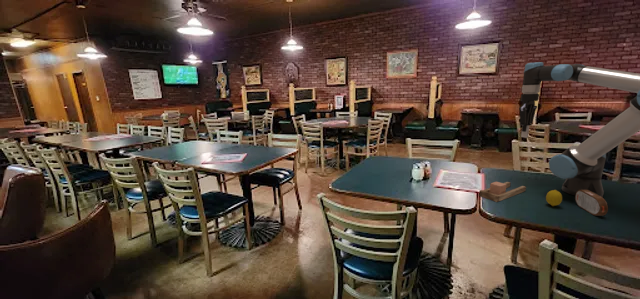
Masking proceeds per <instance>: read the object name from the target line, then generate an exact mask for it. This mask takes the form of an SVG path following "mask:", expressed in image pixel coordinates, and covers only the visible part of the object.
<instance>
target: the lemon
mask: <svg viewBox="0 0 640 299" xmlns="http://www.w3.org/2000/svg"><path fill="white" fill-rule="evenodd" d="M545 200H546V202H547V203H548V204H549V205H551V207H556V206H560V204H561V203H562V202H563V195H562V193H561V192H560V191H559V190H557V189H552V190H550V191H548V192H547V193H546V196H545Z"/></svg>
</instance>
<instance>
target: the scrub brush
mask: <svg viewBox="0 0 640 299" xmlns="http://www.w3.org/2000/svg"><path fill="white" fill-rule="evenodd" d="M574 199H575V200H574V201H575V203H576V204H577V206H578V207H579V208H581V209H582V210H584V211H586V212H587V213H589V214H591V215H593V216H596V217H597V216H600V217H604V216H606V214H608V210H609V207H608V202H607V201H606V199H605V198H603V197H601V196H599V195H597V194H595V193H593V192H591V191H589V190H578V191H577V192H576V195H574Z"/></svg>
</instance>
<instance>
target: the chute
mask: <svg viewBox="0 0 640 299" xmlns="http://www.w3.org/2000/svg"><path fill="white" fill-rule="evenodd" d="M502 183H503V184H507V185H506V189H508V188H510V187H511V182H509V181H505V182H502ZM526 190H527V187H526V186H524V185H521V186H519V187H516V188H513V189H510V190H507V191H506V192H505V193H502V194H499V195H496V194H493V193H490V187H489V188H488V187H487V188H485V189H480V190H479V192H478V196H479V197H481V198H484V199H487V200H490V201H493V202H495V203H498V202H501V201H505V200H506V199H509V198H511V197H515V196H516V195H519V194H522V193H524V192H526Z"/></svg>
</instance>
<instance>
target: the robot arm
mask: <svg viewBox="0 0 640 299" xmlns="http://www.w3.org/2000/svg"><path fill="white" fill-rule="evenodd" d="M523 70H524V71H523V79H522V87H521V95H520V101H521V102H522V106H521V107H520V106H519V108H518V109H519V125H520V126H522V127H521V133H520V138H524V139H527V138H529V131H530V126H532V125H533V121H534V119H535V115H536V111H537V108H538V105H536V102H537V101H539V100H540V99H539V98H540V94H539V93H540V91H541V84H542V82H562V81H563V82H564V81H573V82H578V83H582V84H583V83H584V84H589V85H594V86H599V87H604V88H609V89H615V90H619V91H625V92H630V93H636V94H637V95H636V96H635V97H634V98H632V99H631V100H629V107H628V108H626V109H625V110H624V111H623V112H621V113H620V114H618V115H617V116H616V117H614V118H613V119H612V120H609V122H608V123H607V124H605V125H603V126H602V127H601V128H600V129H598V130H597V131H596V132H595V133H592V134H591V135H590V136H589V137H588V138H586V139H585V140H584V141H583V142H581V143H580V144H579V145H571V146H569V147H568V148H567V149H565V150H564V151H563V152H562V153H560V154H555V155H554V156H552V157H551V158H550V159H549V161H548V169H549V170H550V172H551V173H552V175H554V176H556V177H557V178H560V179H564V182H563V183H562V185H561V191H562V192H564V193H566V194H569V195H572V196H575V195H576V192H577V191H578V190H589V191H591V192H593V193H595V194H597V195H599V196H601V197H602V198H603V197H604V193H605V191H604V188H603V184H602V183H603V182H602V176H603V172H604V167H605V163H606V160H607V153H608V152H609V153H610V151H612V150H613V149H614V148H616V147H617V146H619V145H620V144H622V143H623V142H625V141H626V140H628V139H630V138H631V137H633V136H634V135H635V134H637V133H639V132H640V73H637V72H630V71H624V70H617V69H610V68H609V69H608V68H602V67H595V66H587V65H584V64H579V63H574V64H569V63H568V64H565V63H563V64H562V63H561V64H554V65H553V64H551V65H545V64H544V62H542V61H541V62H540V61H538V62H527V63H526V64H525V65H524V69H523Z"/></svg>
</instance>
